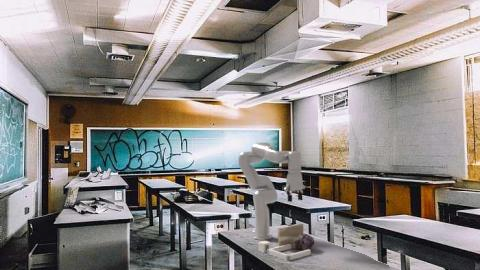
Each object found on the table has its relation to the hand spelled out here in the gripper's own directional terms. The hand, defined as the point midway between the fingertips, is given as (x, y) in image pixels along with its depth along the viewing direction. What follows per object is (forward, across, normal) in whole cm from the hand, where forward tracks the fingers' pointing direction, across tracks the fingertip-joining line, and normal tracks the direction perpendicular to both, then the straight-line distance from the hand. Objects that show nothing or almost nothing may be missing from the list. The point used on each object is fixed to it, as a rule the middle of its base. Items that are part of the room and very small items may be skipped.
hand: (295, 200), depth 230 cm
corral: (+28, +13, +8) cm, 32 cm away
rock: (+28, 0, +8) cm, 29 cm away
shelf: (+28, +1, -3) cm, 28 cm away
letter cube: (+28, +20, -6) cm, 35 cm away
